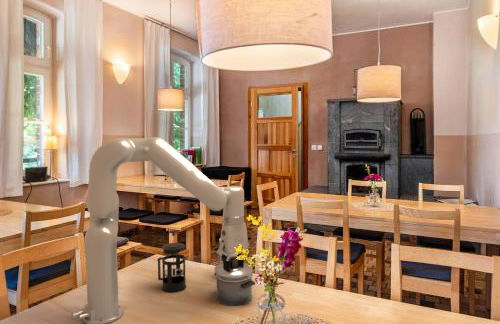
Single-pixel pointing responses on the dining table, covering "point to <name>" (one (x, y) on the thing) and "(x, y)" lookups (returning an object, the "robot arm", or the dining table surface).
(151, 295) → the dining table surface
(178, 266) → the french press
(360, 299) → the dining table surface
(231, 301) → the pot
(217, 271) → the lid
